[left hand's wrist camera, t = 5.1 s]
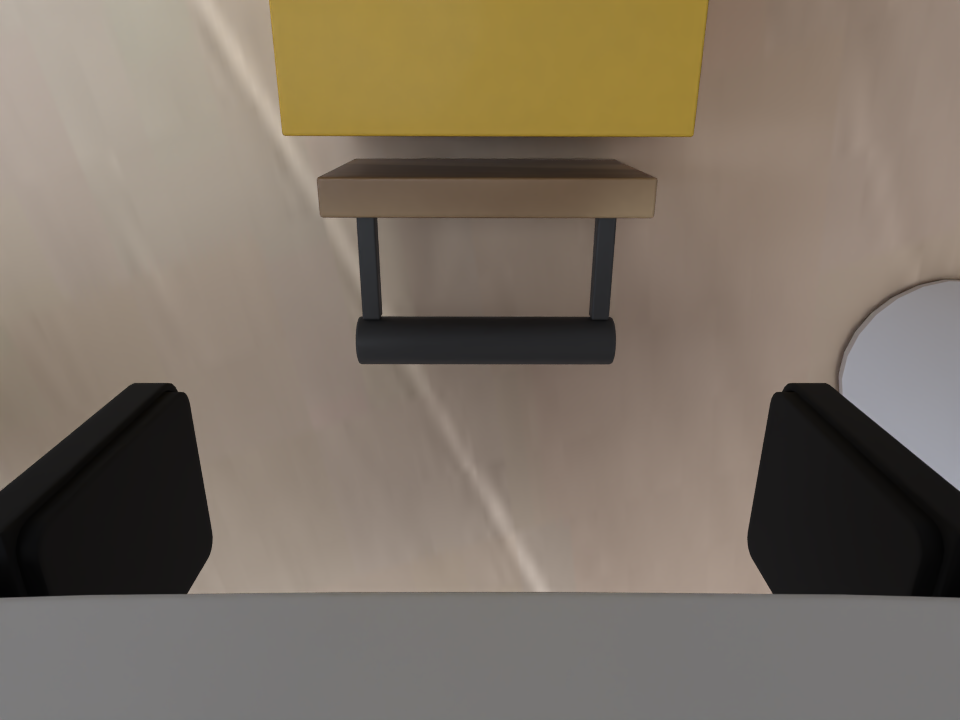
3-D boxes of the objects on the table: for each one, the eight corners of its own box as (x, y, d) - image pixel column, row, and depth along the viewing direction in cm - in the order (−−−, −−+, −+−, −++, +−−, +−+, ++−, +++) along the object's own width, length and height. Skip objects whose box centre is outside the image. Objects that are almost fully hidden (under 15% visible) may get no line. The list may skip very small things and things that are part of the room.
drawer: (604, 320, 28) (638, 380, 22) (363, 319, 28) (332, 380, 22) (656, -387, 20) (733, -595, 14) (318, -389, 20) (251, -599, 14)
